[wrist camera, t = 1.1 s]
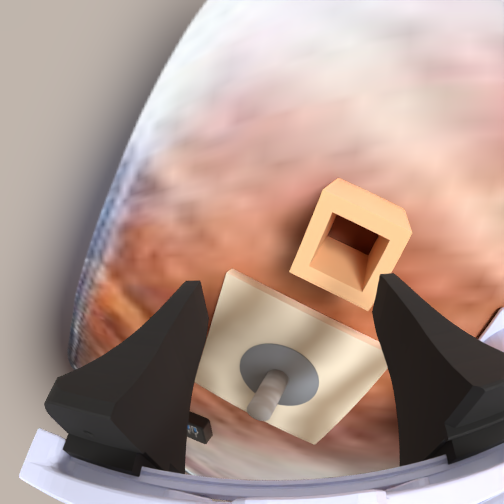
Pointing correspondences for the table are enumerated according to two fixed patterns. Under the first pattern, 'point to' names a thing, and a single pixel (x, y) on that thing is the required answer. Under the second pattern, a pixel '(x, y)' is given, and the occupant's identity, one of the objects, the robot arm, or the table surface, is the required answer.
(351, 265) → the collar
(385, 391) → the table surface
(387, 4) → the table surface
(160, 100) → the table surface
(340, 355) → the post board
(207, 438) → the multiport hub
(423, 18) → the table surface
